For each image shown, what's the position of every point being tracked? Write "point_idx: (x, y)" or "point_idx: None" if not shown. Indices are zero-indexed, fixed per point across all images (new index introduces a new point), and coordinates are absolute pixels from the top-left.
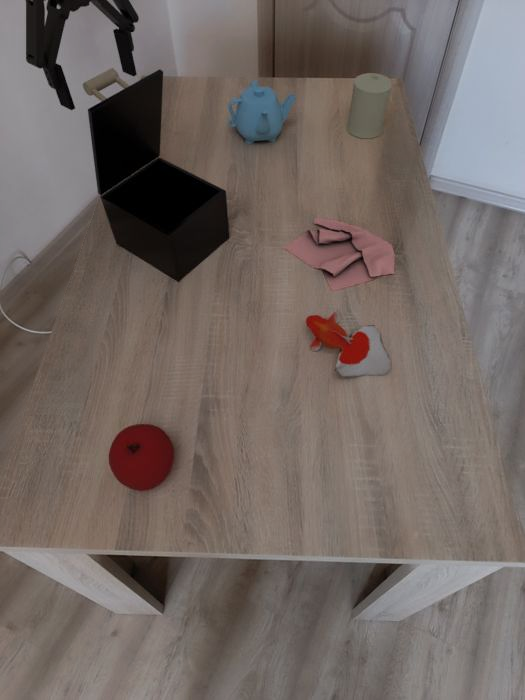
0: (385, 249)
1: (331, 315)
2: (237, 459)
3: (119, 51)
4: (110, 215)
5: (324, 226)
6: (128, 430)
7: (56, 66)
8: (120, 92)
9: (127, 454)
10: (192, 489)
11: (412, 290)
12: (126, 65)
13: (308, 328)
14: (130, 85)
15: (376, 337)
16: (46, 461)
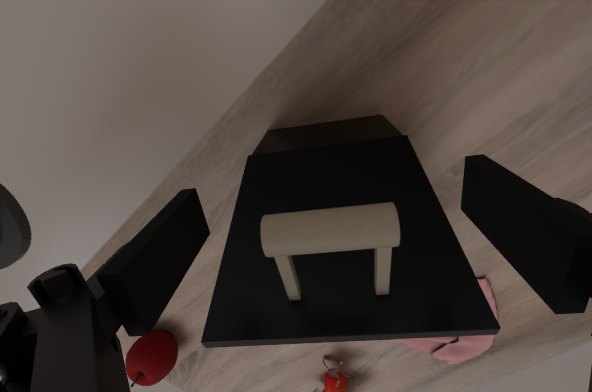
0: (478, 348)
1: (352, 377)
2: (217, 368)
3: (507, 195)
4: None
5: None
6: (141, 366)
7: (129, 328)
8: (316, 340)
9: (134, 376)
10: (181, 362)
11: (441, 377)
12: (477, 198)
13: (323, 378)
14: (361, 335)
15: None
16: None
